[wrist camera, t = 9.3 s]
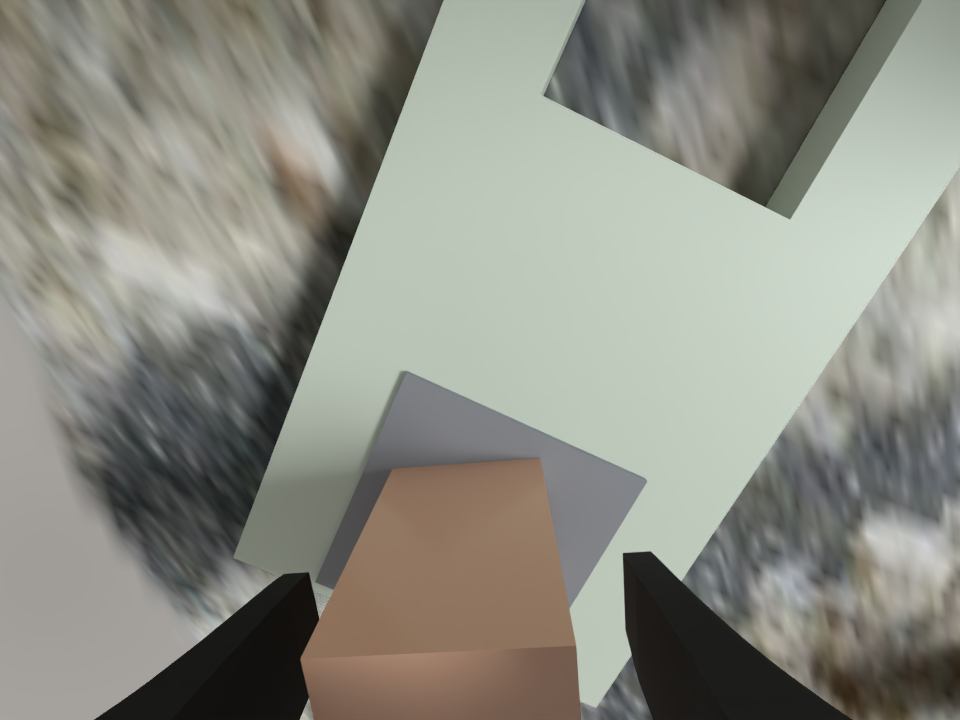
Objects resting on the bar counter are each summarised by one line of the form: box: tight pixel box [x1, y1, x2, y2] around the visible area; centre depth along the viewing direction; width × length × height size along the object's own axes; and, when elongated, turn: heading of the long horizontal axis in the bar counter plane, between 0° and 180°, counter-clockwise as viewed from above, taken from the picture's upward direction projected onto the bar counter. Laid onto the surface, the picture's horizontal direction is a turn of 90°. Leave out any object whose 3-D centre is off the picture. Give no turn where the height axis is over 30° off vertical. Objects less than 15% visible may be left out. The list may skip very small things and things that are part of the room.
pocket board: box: [233, 0, 960, 708], centre depth 12 cm, size 12×22×2 cm, turn 155°
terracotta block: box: [300, 458, 581, 720], centre depth 10 cm, size 4×4×6 cm
